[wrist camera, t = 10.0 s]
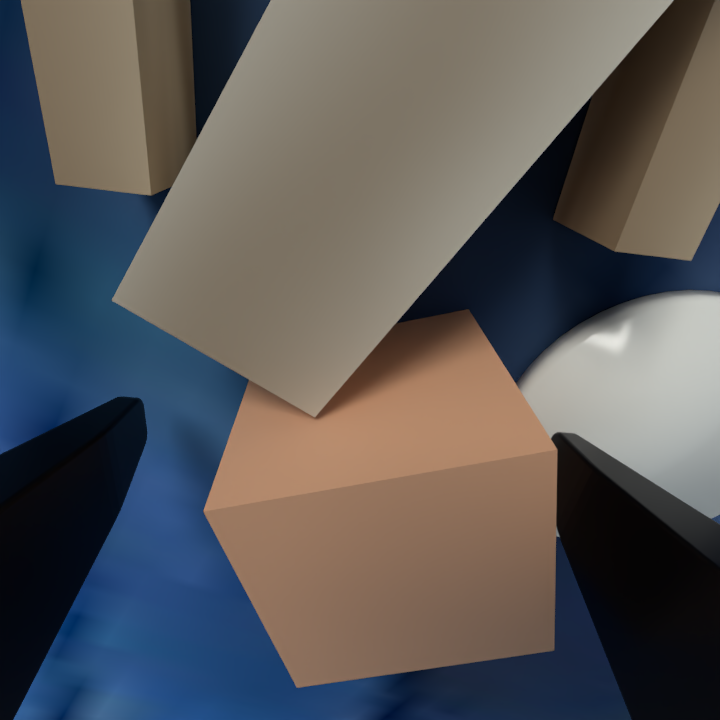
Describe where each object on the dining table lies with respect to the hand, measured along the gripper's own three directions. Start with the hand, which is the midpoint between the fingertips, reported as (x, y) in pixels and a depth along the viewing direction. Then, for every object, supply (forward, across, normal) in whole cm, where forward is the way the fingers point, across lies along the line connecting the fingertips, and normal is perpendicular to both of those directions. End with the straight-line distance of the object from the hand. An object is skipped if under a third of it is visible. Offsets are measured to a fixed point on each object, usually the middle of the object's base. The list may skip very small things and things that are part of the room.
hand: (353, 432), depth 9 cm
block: (+1, -1, 0) cm, 2 cm away
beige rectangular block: (+1, 0, -6) cm, 6 cm away
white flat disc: (+1, -7, 0) cm, 7 cm away
